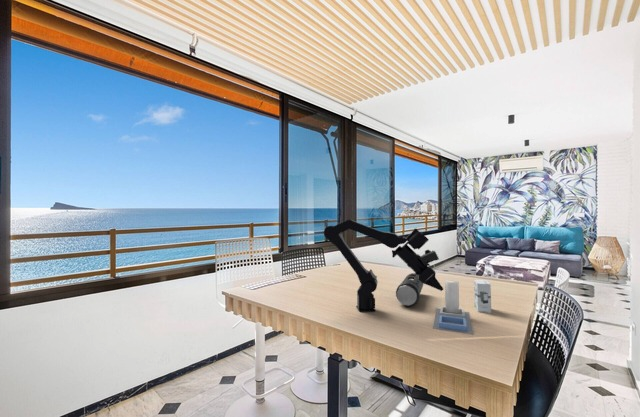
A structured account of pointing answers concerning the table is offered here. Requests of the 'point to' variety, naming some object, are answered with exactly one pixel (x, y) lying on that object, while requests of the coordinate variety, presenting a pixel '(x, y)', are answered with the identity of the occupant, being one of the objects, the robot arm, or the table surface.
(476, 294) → the ink box
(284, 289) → the table surface
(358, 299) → the robot arm
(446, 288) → the white piece
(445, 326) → the duct plate
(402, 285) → the black silver cylinder
